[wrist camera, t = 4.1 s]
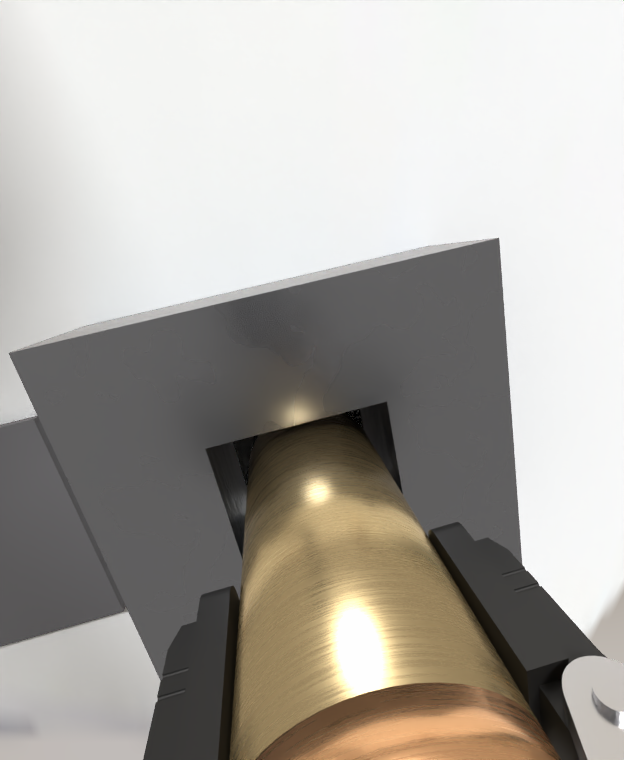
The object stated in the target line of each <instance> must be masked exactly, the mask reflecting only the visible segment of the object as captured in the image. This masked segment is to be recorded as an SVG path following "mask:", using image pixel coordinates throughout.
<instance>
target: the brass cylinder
mask: <svg viewBox="0 0 624 760" xmlns="http://www.w3.org/2000/svg"><path fill="white" fill-rule="evenodd" d="M229 760H561V758H560V757H559V755H558V753H557V752H556V750H555V748H554V747H553V745H552V743H551V742H550V740H549V738H548V737H547V735H546V733H545V732H544V730H543V728H542V727H541V725H540V723H539V722H538V720H537V718H536V717H535V715H534V713H533V712H532V710H531V708H530V707H529V705H528V703H527V702H526V700H525V698H524V697H523V695H522V693H521V692H520V690H519V688H518V687H517V685H516V683H515V682H514V680H513V678H512V677H511V675H510V673H509V672H508V670H507V668H506V667H505V665H504V663H503V662H502V660H501V658H500V656H499V655H498V653H497V651H496V650H495V648H494V646H493V645H492V643H491V641H490V640H489V638H488V636H487V635H486V633H485V631H484V630H483V628H482V626H481V625H480V623H479V621H478V620H477V618H476V616H475V615H474V613H473V611H472V610H471V608H470V606H469V605H468V603H467V601H466V600H465V598H464V596H463V595H462V593H461V591H460V590H459V588H458V586H457V585H456V583H455V581H454V580H453V578H452V576H451V575H450V573H449V571H448V570H447V568H446V566H445V565H444V563H443V561H442V560H441V558H440V556H439V554H438V553H437V551H436V549H435V548H434V546H433V544H432V543H431V541H430V539H429V538H428V536H427V534H426V533H425V531H424V529H423V528H422V526H421V524H420V523H419V521H418V519H417V518H416V516H415V514H414V513H413V511H412V509H411V508H410V506H409V504H408V503H407V501H406V499H405V498H404V496H403V494H402V493H401V491H400V489H399V488H398V486H397V484H396V483H395V481H394V479H393V478H392V476H391V474H390V473H389V471H388V469H387V468H386V466H385V464H384V463H383V461H382V459H381V458H380V456H379V454H378V452H377V451H376V449H375V447H374V446H373V444H372V442H371V441H370V439H369V437H368V436H367V434H366V433H365V431H364V429H363V428H362V427H361V426H360V425H359V424H358V423H357V422H356V421H355V420H354V419H353V418H351V417H350V416H348V415H347V414H345V413H341V414H337V415H333V416H329V417H325V418H322V419H318V420H314V421H310V422H306V423H302V424H298V425H295V426H291V427H287V428H283V429H279V430H275V431H272V432H268V433H264V434H260V435H258V437H257V439H256V441H255V442H254V444H253V447H252V450H251V453H250V458H249V469H248V484H247V500H246V515H245V530H244V545H243V560H242V575H241V591H240V606H239V621H238V636H237V651H236V667H235V682H234V697H233V712H232V727H231V742H230V758H229Z"/></svg>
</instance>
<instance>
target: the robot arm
mask: <svg viewBox="0 0 624 760" xmlns="http://www.w3.org/2000/svg"><path fill="white" fill-rule="evenodd" d="M428 536H429V539H430V541H431V543H432V544H433V546H434V548H435V549H436V551H437V553H438V554H439V556H440V558H441V560H442V561H443V563H444V565H445V566H446V568H447V570H448V571H449V573H450V575H451V576H452V578H453V580H454V581H455V583H456V585H457V586H458V588H459V590H460V591H461V593H462V595H463V596H464V598H465V600H466V601H467V603H468V605H469V606H470V608H471V610H472V611H473V613H474V615H475V616H476V618H477V620H478V621H479V623H480V625H481V626H482V628H483V630H484V631H485V633H486V635H487V636H488V638H489V640H490V641H491V643H492V645H493V646H494V648H495V650H496V651H497V653H498V655H499V656H500V658H501V660H502V662H503V663H504V665H505V667H506V668H507V670H508V672H509V673H510V675H511V677H512V678H513V680H514V682H515V683H516V685H517V687H518V688H519V690H520V692H521V693H522V695H523V697H524V698H525V700H526V702H527V703H528V705H529V707H530V708H531V710H532V712H533V713H534V715H535V717H536V718H537V720H538V722H539V723H540V725H541V727H542V728H543V730H544V732H545V733H546V735H547V737H548V738H549V740H550V742H551V743H552V745H553V747H554V748H555V750H556V752H557V753H558V755H559V757H560V758H561V760H624V664H623V663H621V662H618V661H616V660H613V659H610V658H607V657H606V656H604V655H603V654H602V653H601V652H600V651H599V650H598V649H597V648H596V647H595V646H594V645H593V644H592V642H591V641H590V640H589V639H588V638H587V637H586V636H585V635H584V633H583V632H582V631H581V630H580V629H579V628H578V627H577V626H576V624H575V623H574V622H573V621H572V620H571V619H570V618H569V617H568V616H567V614H566V613H565V612H564V611H563V610H562V609H561V608H560V607H559V605H558V604H557V603H556V602H555V601H554V600H553V599H552V598H551V597H550V595H549V594H548V593H547V592H546V591H545V590H544V589H543V588H542V586H541V587H540V586H539V584H538V582H537V581H536V580H535V579H534V577H533V576H532V575H531V574H530V573H529V572H528V571H526V570H525V567H524V566H523V565H522V564H521V563H520V562H519V561H518V560H517V558H516V557H515V556H514V555H513V554H512V553H511V552H510V551H509V550H508V549H507V548H505V547H503V546H501V545H500V544H498V543H496V542H495V541H493V540H491V539H489V538H488V537H487V538H484V539H480V540H477V541H475V540H474V539H473V538H472V537H471V535H470V534H469V533H468V532H467V530H466V529H465V528H464V527H463V526H462V524H460V523H459V522H455V523H451V524H448V525H444V526H441V527H437V528H434V529H430V530H429V532H428ZM239 606H240V600H239V597H238V594H237V591H236V589H235V587H234V586H229V587H226V588H222V589H219V590H215V591H212V592H209V593H205V594H202V595H201V597H200V601H199V607H198V613H197V619H196V622H193V623H190V624H186V625H183V626H181V628H180V630H179V631H178V633H177V635H176V636H175V638H174V640H173V642H172V643H171V645H170V647H169V648H168V651H167V656H166V660H165V665H164V669H163V674H162V676H163V679H162V680H161V682H160V687H159V691H158V696H157V697H158V702H156V705H155V709H154V714H153V718H152V723H151V727H150V732H149V736H148V741H147V745H146V750H145V754H144V759H143V760H229V758H230V742H231V727H232V712H233V697H234V682H235V667H236V651H237V636H238V621H239Z"/></svg>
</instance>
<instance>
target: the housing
mask: <svg viewBox="0 0 624 760" xmlns="http://www.w3.org/2000/svg"><path fill="white" fill-rule="evenodd" d="M9 355H10V357H11V359H12V361H13V364H14V366H15V368H16V370H17V372H18V374H19V376H20V379H21V381H22V383H23V385H24V387H25V389H26V392H27V394H28V396H29V398H30V400H31V402H32V405H33V407H34V409H35V411H36V413H37V415H38V417H39V420H40V422H41V424H42V426H43V428H44V430H45V433H46V435H47V437H48V439H49V441H50V443H51V445H52V448H53V450H54V452H55V454H56V456H57V458H58V461H59V463H60V465H61V467H62V469H63V471H64V473H65V476H66V478H67V480H68V482H69V484H70V486H71V489H72V491H73V493H74V495H75V497H76V499H77V502H78V504H79V506H80V508H81V510H82V512H83V514H84V517H85V519H86V521H87V523H88V525H89V527H90V530H91V532H92V534H93V536H94V538H95V540H96V542H97V545H98V547H99V549H100V551H101V553H102V555H103V558H104V560H105V562H106V564H107V566H108V568H109V570H110V573H111V575H112V577H113V579H114V581H115V583H116V586H117V588H118V590H119V592H120V594H121V596H122V599H123V601H124V603H125V605H126V607H127V609H128V611H129V614H130V616H131V618H132V620H133V622H134V624H135V627H136V629H137V631H138V633H139V635H140V637H141V639H142V642H143V644H144V646H145V648H146V650H147V652H148V655H149V657H150V659H151V661H152V663H153V665H154V667H155V670H156V672H157V674H158V676H159V678H160V680H162V679H163V676H162V674H163V669H164V665H165V660H166V656H167V651H168V648H169V647H170V645H171V643H172V642H173V640H174V638H175V636H176V635H177V633H178V631H179V630H180V628H181V626H183V625H186V624H190V623H193V622H196V619H197V613H198V607H199V601H200V597H201V595H202V594H205V593H209V592H212V591H215V590H219V589H222V588H226V587H229V586H234V587H235V589H236V591H237V594H238V597H239V600H240V591H241V575H242V560H243V545H244V530H245V515H246V500H247V485H246V482H245V479H244V476H243V473H242V469H241V466H240V463H239V460H238V456H237V453H236V450H235V447H234V443H233V441H237V440H241V439H245V438H248V437H252V436H256V435H260V434H264V433H268V432H272V431H275V430H279V429H283V428H287V427H291V426H295V425H298V424H302V423H306V422H310V421H314V420H318V419H322V418H325V417H329V416H333V415H337V414H341V413H345V412H348V411H352V410H356V409H359V411H360V416H361V421H362V426H363V429H364V431H365V433H366V434H367V436H368V437H369V439H370V441H371V442H372V444H373V446H374V447H375V449H376V451H377V452H378V454H379V456H380V458H381V459H382V461H383V463H384V464H385V466H386V468H387V469H388V471H389V473H390V474H391V476H392V478H393V479H394V481H395V483H396V484H397V486H398V488H399V489H400V491H401V493H402V494H403V496H404V498H405V499H406V501H407V503H408V504H409V506H410V508H411V509H412V511H413V513H414V514H415V516H416V518H417V519H418V521H419V523H420V524H421V526H422V528H423V529H424V531H425V533H426V534H427V536H428V532H429V530H430V529H434V528H437V527H441V526H444V525H448V524H451V523H455V522H459V523H460V524H462V526H463V527H464V528H465V529H466V530H467V532H468V533H469V534H470V535H471V537H472V538H473V539H474V540H475V541H477V540H480V539H484V538H487V537H488V538H489V539H491V540H493V541H495V542H496V543H498V544H500V545H501V546H503V547H505V548H507V549H508V550H509V551H510V552H511V553H512V554H513V555H514V556H515V557H516V558H517V560H518V561H519V562H520V563H521V564H522V556H521V542H520V528H519V514H518V500H517V486H516V471H515V457H514V443H513V429H512V415H511V401H510V386H509V372H508V358H507V344H506V330H505V316H504V302H503V287H502V273H501V259H500V245H499V238H494V239H485V240H477V241H468V242H460V243H451V244H443V245H434V246H427V247H422V248H418V249H414V250H409V251H405V252H401V253H397V254H392V255H388V256H384V257H379V258H375V259H371V260H367V261H362V262H358V263H354V264H349V265H345V266H341V267H337V268H332V269H328V270H324V271H319V272H315V273H311V274H306V275H302V276H298V277H294V278H289V279H285V280H281V281H276V282H272V283H268V284H264V285H259V286H255V287H251V288H246V289H242V290H238V291H234V292H229V293H225V294H221V295H216V296H212V297H208V298H204V299H199V300H195V301H191V302H186V303H182V304H178V305H173V306H169V307H165V308H161V309H156V310H152V311H148V312H143V313H139V314H135V315H131V316H126V317H122V318H118V319H113V320H109V321H105V322H101V323H96V324H92V325H88V326H84V327H81V328H78V329H75V330H73V331H70V332H67V333H64V334H61V335H58V336H56V337H53V338H50V339H47V340H44V341H41V342H38V343H36V344H33V345H30V346H27V347H24V348H21V349H19V350H16V351H13V352H10V353H9ZM428 538H429V536H428Z"/></svg>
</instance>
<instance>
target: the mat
mask: <svg viewBox="0 0 624 760" xmlns="http://www.w3.org/2000/svg"><path fill="white" fill-rule="evenodd" d="M125 606H126V605H125V603H124V601H123V599H122V596H121V594H120V592H119V590H118V588H117V586H116V583H115V581H114V579H113V577H112V575H111V573H110V570H109V568H108V566H107V564H106V562H105V560H104V558H103V555H102V553H101V551H100V549H99V547H98V545H97V542H96V540H95V538H94V536H93V534H92V532H91V530H90V527H89V525H88V523H87V521H86V519H85V517H84V514H83V512H82V510H81V508H80V506H79V504H78V502H77V499H76V497H75V495H74V493H73V491H72V489H71V486H70V484H69V482H68V480H67V478H66V476H65V473H64V471H63V469H62V467H61V465H60V463H59V461H58V458H57V456H56V454H55V452H54V450H53V448H52V445H51V443H50V441H49V439H48V437H47V435H46V433H45V430H44V428H43V426H42V424H41V422H40V420H39V417H38V416H35V417H31V418H27V419H23V420H19V421H15V422H11V423H7V424H3V425H0V646H3V645H7V644H10V643H14V642H17V641H21V640H24V639H28V638H31V637H35V636H38V635H42V634H45V633H49V632H53V631H56V630H60V629H63V628H67V627H70V626H74V625H77V624H81V623H84V622H88V621H91V620H95V619H98V618H102V617H105V616H109V615H112V614H116V613H119V612H123V611H124V609H125Z"/></svg>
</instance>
